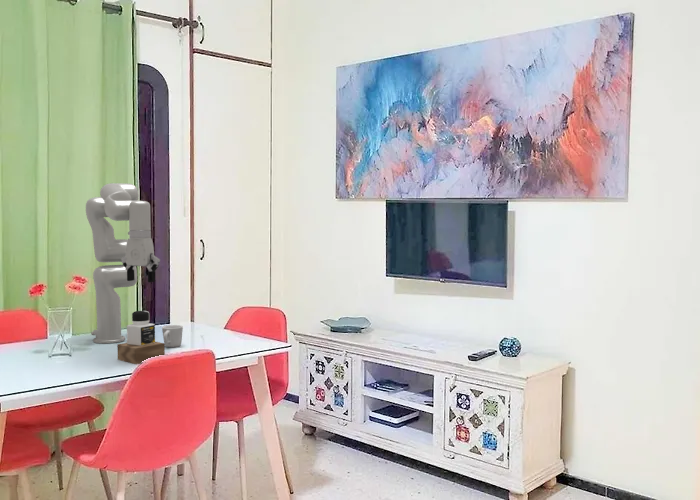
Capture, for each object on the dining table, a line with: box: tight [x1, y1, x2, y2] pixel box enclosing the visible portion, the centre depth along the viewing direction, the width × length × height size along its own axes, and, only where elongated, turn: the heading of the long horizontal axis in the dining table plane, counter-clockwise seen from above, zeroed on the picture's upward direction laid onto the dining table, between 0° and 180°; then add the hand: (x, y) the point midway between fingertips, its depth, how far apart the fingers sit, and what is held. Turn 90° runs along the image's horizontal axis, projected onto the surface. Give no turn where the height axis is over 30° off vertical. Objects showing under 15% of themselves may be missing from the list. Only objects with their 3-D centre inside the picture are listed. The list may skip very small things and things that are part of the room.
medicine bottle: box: [126, 310, 156, 346], centre depth 256 cm, size 7×7×12 cm
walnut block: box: [116, 341, 166, 365], centre depth 257 cm, size 12×12×6 cm
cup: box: [161, 324, 184, 348], centre depth 278 cm, size 11×8×8 cm
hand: (141, 281), depth 257 cm, fingers open, 9 cm apart
